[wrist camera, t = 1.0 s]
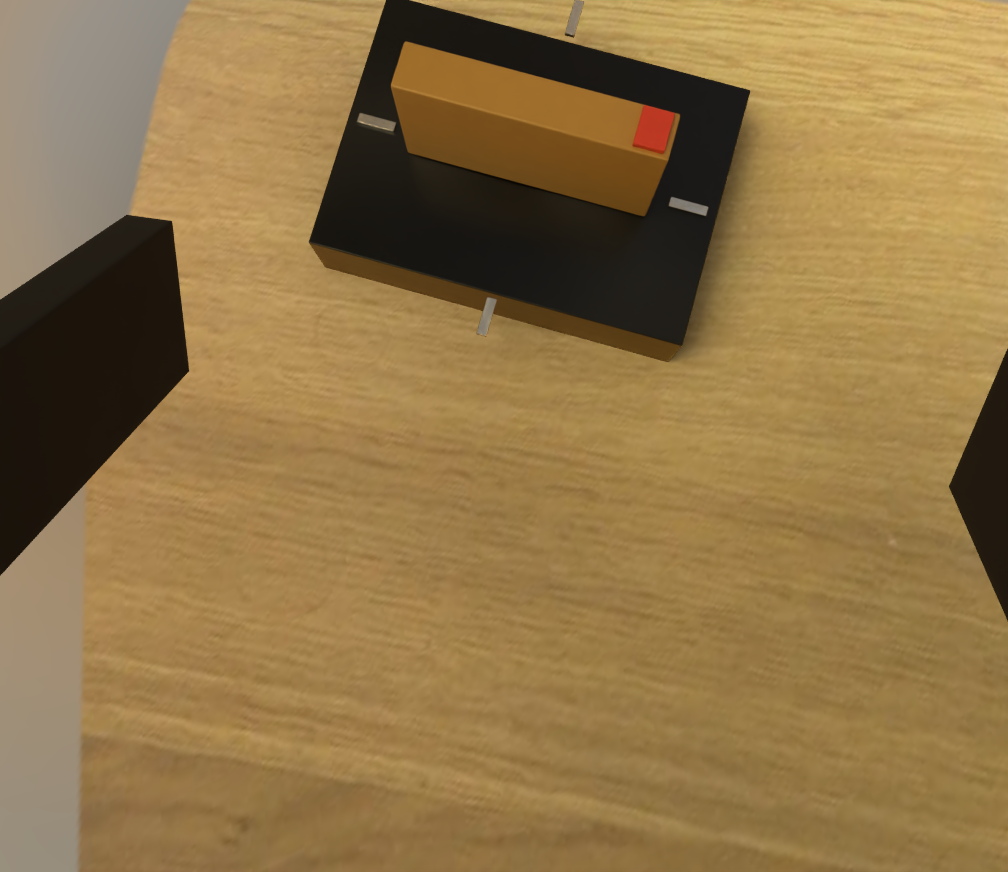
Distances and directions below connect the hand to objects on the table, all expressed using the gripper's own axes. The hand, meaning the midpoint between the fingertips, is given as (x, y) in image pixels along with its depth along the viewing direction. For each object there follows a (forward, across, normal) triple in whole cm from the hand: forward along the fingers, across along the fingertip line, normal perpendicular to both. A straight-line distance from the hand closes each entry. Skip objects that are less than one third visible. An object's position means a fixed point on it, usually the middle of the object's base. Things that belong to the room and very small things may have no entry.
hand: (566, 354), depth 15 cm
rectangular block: (+20, -3, -3) cm, 21 cm away
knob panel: (+23, -3, -5) cm, 24 cm away
